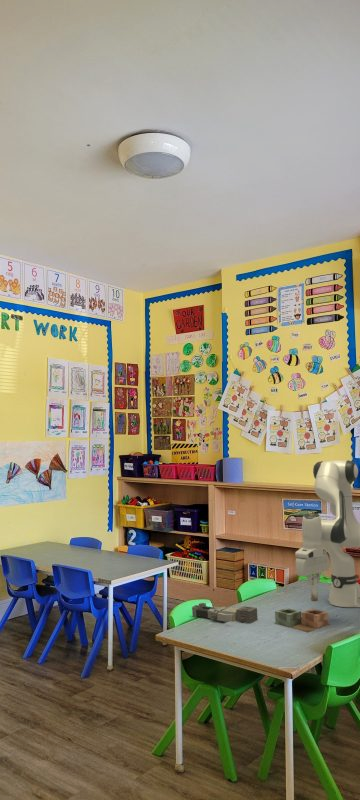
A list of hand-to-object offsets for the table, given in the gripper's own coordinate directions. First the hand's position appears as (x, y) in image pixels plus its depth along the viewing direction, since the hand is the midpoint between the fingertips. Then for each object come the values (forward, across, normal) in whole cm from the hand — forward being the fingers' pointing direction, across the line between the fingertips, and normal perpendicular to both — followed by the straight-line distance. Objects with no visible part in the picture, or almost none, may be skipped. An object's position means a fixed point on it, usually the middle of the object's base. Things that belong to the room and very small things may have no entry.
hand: (313, 583), depth 248 cm
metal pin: (+7, 0, 0) cm, 7 cm away
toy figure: (+19, +19, -36) cm, 45 cm away
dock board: (+19, +3, -5) cm, 19 cm away
